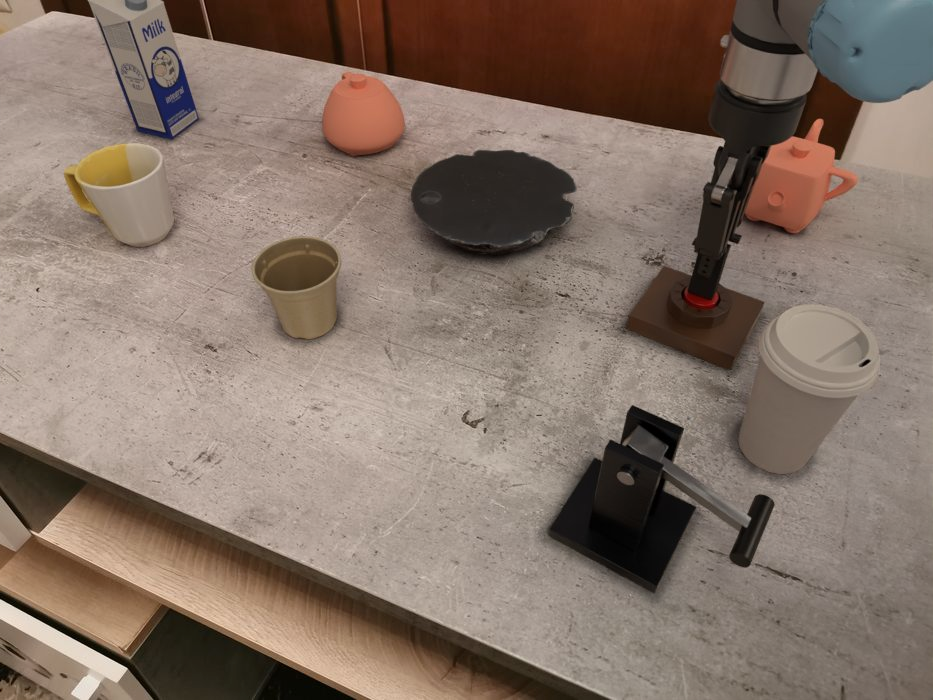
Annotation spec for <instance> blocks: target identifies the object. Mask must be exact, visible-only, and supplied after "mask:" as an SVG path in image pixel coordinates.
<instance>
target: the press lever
mask: <svg viewBox="0 0 933 700" xmlns="http://www.w3.org/2000/svg"><path fill="white" fill-rule="evenodd" d="M622 445H624V446H626V447H628V448H630V449H632V450H634V451H637V452H639V453H641V454H643V455H645V456H647V457H649V458H651V459H654V460H656V461H658V462H660V463H662V464H664V468H663V471H662V474H661V477H662V478H664V479H665V480H667V483H669V484H671V485H672V486H674V488H677V489H678V490H679V491H681V492H682V493H683V494H685V495H687V496H688V497H689V498H690V499H692V500H693V501H694V502H696V503H698V504H699V505H701V506H702V507H704V508H705V510H707V511H709V512H710V513H711V514H713V515H714V516H715V517H717V518H719V519H720V520H722V521H723V522H724V523H726V524H727V525H728V526H730V527H731V528H732V529H734V530H736V531H738V534H737V536H736V538H735V541H734V543H733V545H732V548H731V550H730V551H729V554H728V559H729V561H730V562H731V563H733V564H734V565H736V566H737V567H739V568H745V569H746V568H749V567H750V566H751V564H752V562H753V560H754V557H755V555H756V553H757V551H758V547H759V545H760V542H761V540H762V538H763V535H764V532H765V531H766V528H767V525H768V523H769V521H770V518H771V516H772V513H773V510H774V508H775V505H776V503H775V501H774V500H773V498H771V497H770V496H769V495H766V494H764V493H763V494H762V493H759V494H756V495H755V496H754V497H753V499H752V501H751V504H750V506H749V508H748V511H747V513H745V511H743V510H741V509H740V508H738V507H737V506H735V505H734V504H733V503H731V502H730V501H729V500H727V499H726V498H724V497H722V496H721V495H720V494H719V493H718V492H715V491H714V490H713V489H711V488H710V487H708V485H706V484H705V483H703V482H701V481H700V480H698V479H697V478H695V476H693V475H691V474H690V473H689V472H687V471H686V470H684V469H683V468H681V466H679V465H677V464H676V463H675V462H671V461H670V460H669V459H667V458H666V457H664V454H665V452H666V450H667V449H668V447H669V446H668V445H667V444H665V443H664V442H663V441H661V440H660V439H658V438H657V437H655V436H654V435H653V434H651V433H650V432H648V431H647V430H645V429H644V428H643V427H641V426H640V425H638V426H637V427H636V428H635V429H634V430H633V431H632V432H631V433H630V435H629V436H628V437H627V438H626V439H625V441H624V442H623V444H622Z"/></svg>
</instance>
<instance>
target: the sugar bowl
mask: <svg viewBox="0 0 933 700" xmlns="http://www.w3.org/2000/svg"><path fill="white" fill-rule="evenodd" d="M321 126H322V134H323V136H324V138H325V139H326V140H327V141H328V143H330V144H331V145H333V147H335V148H336V149H338V150H339V151H341V152H343V153H344V152H345V153H347V154H348V155H350V156H352V157H357V156H361V155H372V154H375V153H380V152H382V151H385V150H387V149H391V148H392V147H393V146H394V145H395V144H396V143H397V141H398V140H399V139H400V138H401V136H402V135H403V134H404V131H405V128H406V121H405V116H404V113H403V109H402V107H401V105H400V103H399V101H398V99H397V98H396V96H395V95H394V94H393V92H392V91H391V90H390V89H389V87H388V86H387V85H386V84H385V83H384V82H383V81H382V80H381V79H379V78H377V77H375V76H370V75H366V74H364V73H353V72H352V71H345V72H344V73H342V74H341V80H339V81H338V82H337V83H335V85H334V86H333V88H332V90H331V91H330V93H329V96H328V97H327V99H326V102H325V105H324V108H323V111H322V119H321Z"/></svg>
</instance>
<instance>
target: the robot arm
mask: <svg viewBox="0 0 933 700" xmlns="http://www.w3.org/2000/svg"><path fill="white" fill-rule="evenodd" d="M729 30H730V31H729V33H728V34H724V35H723V36H722V38H721V39H720V41H719V45H720V46H721V48H725V52H724V54H723V58H722V61H721V65H720V69H719V80H717V82H716V83H715V87H714V91H713V95H712V100H711V104H710V107H709V112H708V122H709V126H710V127H711V129H712V131H714V132H715V133H716V134H718V135H719V136H720V137H721V138H722V139H723V141H724V143H723V146H722V145H719V146H718V147H717V149H716V152H715V155H714V159H713V163H712V164H713V167H714V169H713V173H712V176H711V180H710V181H707V182H706V183H705V185H704V187H703V188H702V191H703V192H702V207H701V212H700V217H699V222H698V227H697V233H696V237H695V238H694V239H693V241H692V242H691V246H693V248H694V250H693V253H695V254H697V255H696V258H695V262H694V266H693V269H692V273H691V280H690V284H689V287H688V292H690V293H693V294H696V295H698V296H701V297H704V298H707V299H709V300H712V298H713V297H714V295H715V293H716V291H717V288H718V285H719V283H720V281H721V278H722V274H723V272H724V269H725V265H726V262H727V259H728V257H729V256H728V255H729V253H730V251H731V244H729V242H730V243H733V244H736V245H739V244H740V243H741V240H742V237H743V235H741V234H740V233H739V234H738V233H736V232H737V228H739V227H740V226H741V225H742V224H743V222H744V220H743V218H744V215H745V210H746V207H747V204H748V202H749V199H750V196H751V193H752V190H753V188H754V185H755V182H756V180H757V179H758V176H759V173H760V170H761V167H762V164H763V163H764V161H765V160H766V158H767V156H768V154H769V151H770V148H771V146H772V145H777V144H780V143H783V142H785V141H787V140H788V139H789V138H791V137H792V136H793V137H794V134H795V133H796V131H797V128H798V126H799V123H800V120H801V117H802V114H803V111H804V108H805V105H806V103H807V99H808V98H807V94H808V92H810V91H811V89H812V87H813V84H814V81H815V79H816V76H817V73H820V74H821V76H822V77H823V78H827V79H828V80H829V82H830V83H835V84H836V85H837V86H838V87H840V89H842V90H843V91H844V92H845V93H847V94H848V96H850V97H852V98H854V99H856V100H859V101H861V102H864V103H870V104H884V103H891V102H894V101H897V100H901V98H903V96H906V95H907V94H909V93H911V92H913V91H919V90H921V89H923V88H925V87H927V86H928V85H929V84H931V83H932V82H933V0H736V4H735V7H734V12H733V16H732V20H731V25H730V28H729Z"/></svg>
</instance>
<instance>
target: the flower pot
mask: <svg viewBox="0 0 933 700" xmlns="http://www.w3.org/2000/svg"><path fill="white" fill-rule="evenodd" d="M341 267H342V255H341V252H340V250H339V249H338V247H336V246H335V245H334V244H333V243H332V242H330V241H328V240H326V239H323V238H320V237H317V236H310V235H300V236H290V237H286V238H282V239H280V240H277V241H274V242H272V243H271V244H269V245H266V247H264V248H263V249H262V250H260V251H259V252H258V254H257V255H256V256H255V257H254V259H253V261H252V264H251V273H252V274H251V275H252V277H253V280H254V281H255V283H256V284H257V285H258V286H259V287H261V289H262V290H263V292H264V293H266V295H267V297H268V299H269V301H270V303H271V305H272V308H273V310H274V312H275V314H276V316H277V319H278V320H279V322H280V326H281V327H282V329H283V331H284V332H285V333H286V334H287V335H289V336H290V337H292V338H295V339H298V338H302V339H305V340H306V339H307V340H312V339H316V338H320V337H322V336H324V335H326V334H327V333H329V332H330V331H331V330H332V329H333V328H334V326H335V323H336V322H337V317H338V315H337V279H338V276H339V272H340V270H341Z"/></svg>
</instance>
